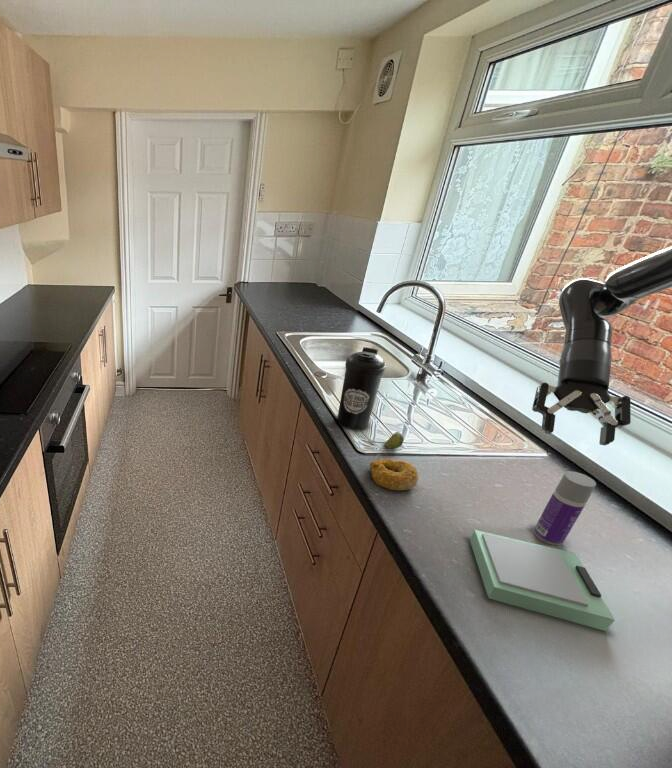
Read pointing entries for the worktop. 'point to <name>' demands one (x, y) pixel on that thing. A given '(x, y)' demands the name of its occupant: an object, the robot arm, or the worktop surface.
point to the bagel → (394, 474)
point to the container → (564, 507)
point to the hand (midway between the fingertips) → (576, 438)
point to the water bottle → (360, 388)
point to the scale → (539, 579)
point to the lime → (395, 441)
